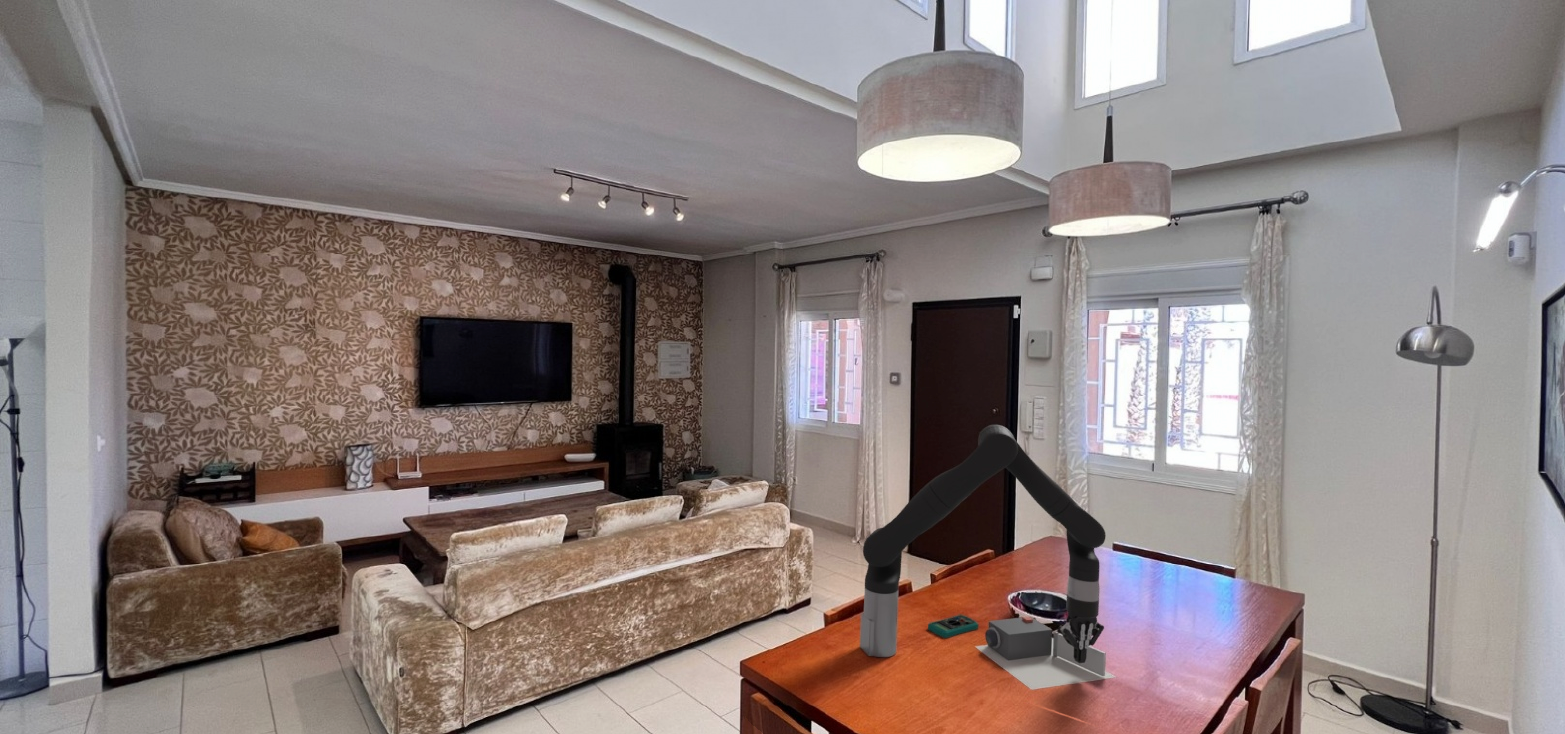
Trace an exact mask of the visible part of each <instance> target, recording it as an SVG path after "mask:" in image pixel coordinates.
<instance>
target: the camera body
mask: <svg viewBox="0 0 1565 734" xmlns="http://www.w3.org/2000/svg"><path fill="white" fill-rule="evenodd" d="M984 635H985V637H984V639H985V640H986V643H987V644H986V645H988V646H989V647H990V648H992V649H993V650H994V651H996V652H997V653H999V654H1000V655H1001V656H1003V657H1004V658H1005V659H1007V660H1016V659H1023V658H1031V657H1039V656H1046V655H1051V652H1052V638H1053V629H1052V628H1050V627H1048V626H1047V625H1045V624H1044V623H1042V622H1040V621H1039V620H1037V619H1035V618H1033V617H1032V616H1023V617H1014V618H1013V617H1012V618H1006V619H1004V618H1003V619H996V620H989V621H988V629H987V630H986V631H985V634H984Z"/></svg>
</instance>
